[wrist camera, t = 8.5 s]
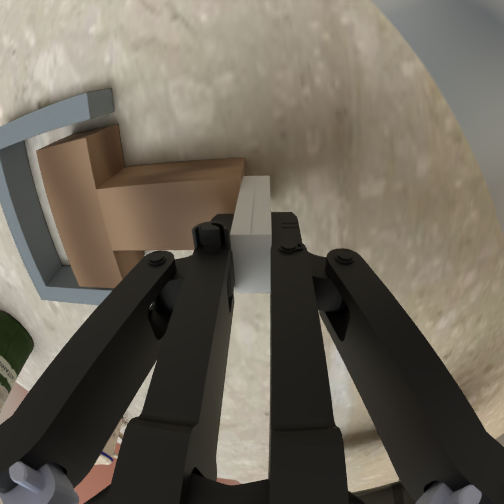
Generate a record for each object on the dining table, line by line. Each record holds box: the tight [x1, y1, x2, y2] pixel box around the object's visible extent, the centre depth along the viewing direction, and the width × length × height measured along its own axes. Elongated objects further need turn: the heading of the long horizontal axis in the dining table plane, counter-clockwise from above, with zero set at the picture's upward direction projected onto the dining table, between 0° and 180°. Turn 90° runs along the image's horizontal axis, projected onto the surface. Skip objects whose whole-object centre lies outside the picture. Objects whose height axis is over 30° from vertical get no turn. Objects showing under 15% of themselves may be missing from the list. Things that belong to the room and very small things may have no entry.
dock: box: [0, 89, 114, 305], centre depth 18 cm, size 11×15×3 cm
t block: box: [36, 124, 246, 288], centre depth 17 cm, size 12×10×4 cm
